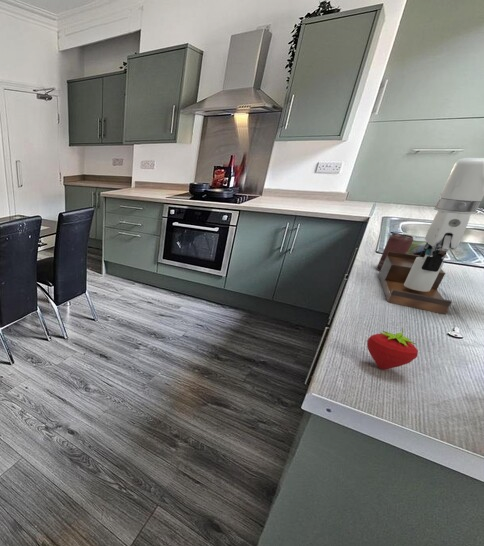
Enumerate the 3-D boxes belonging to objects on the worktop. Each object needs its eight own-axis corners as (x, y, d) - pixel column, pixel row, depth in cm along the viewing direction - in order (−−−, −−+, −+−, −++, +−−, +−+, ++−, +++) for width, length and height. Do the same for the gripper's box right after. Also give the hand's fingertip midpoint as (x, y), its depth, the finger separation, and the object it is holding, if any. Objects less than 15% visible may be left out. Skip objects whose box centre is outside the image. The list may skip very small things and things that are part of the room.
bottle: (427, 287, 95) (446, 249, 90) (431, 293, 91) (451, 254, 86) (402, 282, 98) (418, 246, 93) (405, 288, 94) (422, 250, 89)
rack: (425, 284, 106) (437, 258, 103) (445, 314, 87) (461, 284, 84) (378, 275, 113) (388, 250, 109) (387, 302, 94) (400, 273, 90)
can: (384, 267, 121) (399, 232, 115) (402, 273, 115) (419, 237, 109) (371, 268, 120) (385, 233, 114) (389, 274, 114) (405, 238, 108)
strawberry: (359, 354, 71) (376, 316, 67) (405, 369, 66) (426, 330, 62) (357, 366, 67) (374, 327, 63) (406, 384, 62) (428, 342, 58)
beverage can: (429, 273, 115) (444, 242, 111) (404, 270, 118) (417, 240, 113) (419, 267, 121) (433, 237, 116) (395, 264, 123) (408, 235, 119)
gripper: (489, 212, 76) (453, 279, 83) (466, 203, 89) (437, 261, 96) (444, 209, 80) (414, 273, 88) (429, 200, 93) (404, 256, 100)
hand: (426, 266), depth 92 cm, fingers closed on bottle, 5 cm apart
